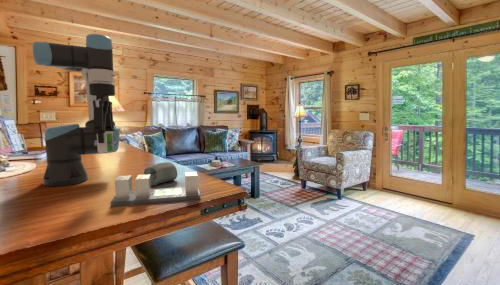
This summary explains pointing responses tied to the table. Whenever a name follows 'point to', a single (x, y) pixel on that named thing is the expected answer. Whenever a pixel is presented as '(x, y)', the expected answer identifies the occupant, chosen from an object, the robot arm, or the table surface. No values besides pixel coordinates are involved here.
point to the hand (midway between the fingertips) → (106, 150)
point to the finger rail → (153, 191)
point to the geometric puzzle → (108, 142)
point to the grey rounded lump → (161, 173)
